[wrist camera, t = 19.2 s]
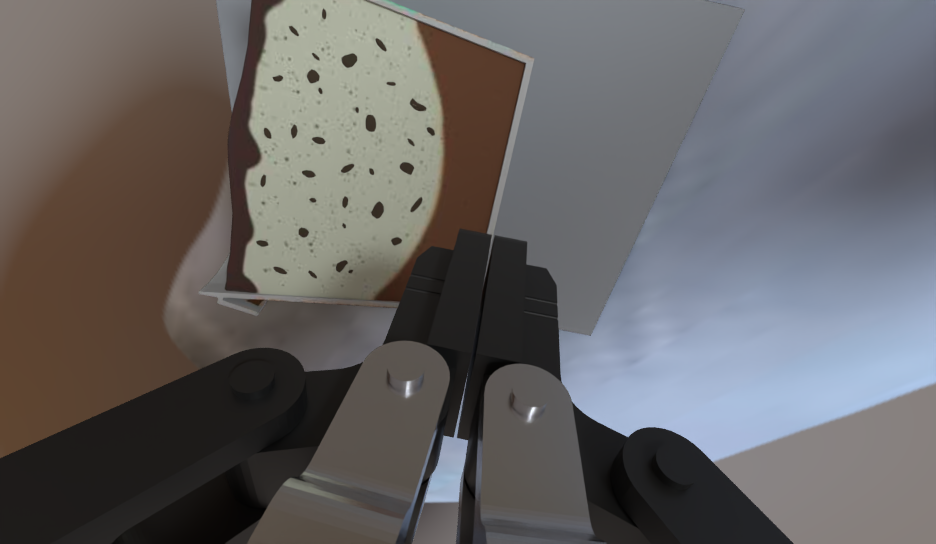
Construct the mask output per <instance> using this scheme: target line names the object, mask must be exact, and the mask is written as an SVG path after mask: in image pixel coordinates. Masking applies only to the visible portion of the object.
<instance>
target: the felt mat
mask: <svg viewBox="0 0 936 544" xmlns="http://www.w3.org/2000/svg"><path fill="white" fill-rule="evenodd" d="M388 1H391V2H393V3H396V4H399V5H401V6H404V7H406V8H409V9H411V10H414V11H416V12H419V13H421V14H424V15H426V16H429V17H431V18H434V19H437V20H439V21H442V22H444V23H447V24H449V25H452V26H454V27H457V28H459V29H462V30H464V31H467V32H469V33H472V34H474V35H477V36H480V37H482V38H485V39H487V40H490V41H492V42H495V43H497V44H500V45H502V46H505V47H507V48H510V49H512V50H515V51H517V52H520V53H523V54H525V55H528V56H530V57H533V58H534V62H533V67H532V71H531V75H530V80H529V84H528V88H527V92H526V97H525V101H524V105H523V110H522V114H521V118H520V122H519V127H518V131H517V135H516V140H515V144H514V148H513V152H512V157H511V161H510V165H509V170H508V174H507V178H506V182H505V187H504V191H503V195H502V200H501V204H500V208H499V212H498V217H497V221H496V225H495V229H494V234H493V238H492V242H491V247H490V251H489V256H488V262H487V267H486V272H487V268H488V263H489V258H490V254H491V249H492V245H493V240H494V236H495V235H497V236H502V237H507V238H512V239H518V240H523V241H527V261H526V264H527V265H532V266H537V267H542V268H547V270H548V271H549V273H550V275H551V276H552V278H553V280H554V281H555V283H556V285H557V306H558V319H557V320H558V328H559V329H560V330H565V331H570V332H575V333H580V334H585V335H590V336H591V334H592V332H593V330H594V327H595V325H596V323H597V321H598V319H599V317H600V315H601V313H602V311H603V308H604V306H605V304H606V302H607V300H608V298H609V296H610V294H611V292H612V289H613V287H614V285H615V283H616V281H617V279H618V277H619V275H620V273H621V270H622V268H623V266H624V264H625V262H626V260H627V258H628V256H629V254H630V251H631V249H632V247H633V245H634V243H635V241H636V239H637V237H638V235H639V232H640V230H641V228H642V226H643V224H644V222H645V220H646V218H647V216H648V213H649V211H650V209H651V207H652V205H653V203H654V201H655V199H656V197H657V194H658V192H659V190H660V188H661V186H662V184H663V182H664V180H665V178H666V175H667V173H668V171H669V169H670V167H671V165H672V163H673V161H674V159H675V156H676V154H677V152H678V150H679V148H680V146H681V144H682V142H683V140H684V137H685V135H686V133H687V131H688V129H689V127H690V125H691V123H692V121H693V118H694V116H695V114H696V112H697V110H698V108H699V106H700V104H701V101H702V99H703V97H704V95H705V93H706V91H707V89H708V87H709V85H710V82H711V80H712V78H713V76H714V74H715V72H716V70H717V68H718V66H719V63H720V61H721V59H722V57H723V55H724V53H725V51H726V49H727V47H728V44H729V42H730V40H731V38H732V36H733V34H734V32H735V30H736V28H737V25H738V23H739V21H740V19H741V17H742V15H743V13H744V11H745V10H744V9H741V8H738V7H733V6H729V5H724V4H719V3H715V2H710V1H705V0H388ZM216 4H217V11H218V18H219V26H220V32H221V40H222V46H223V53H224V60H225V68H226V75H227V82H228V89H229V96H230V103H231V110H232V111H233V107H234V103H235V99H236V96H237V92H238V88H239V84H240V80H241V77H242V72H243V66H244V61H245V56H246V51H247V45H248V33H249V22H250V11H251V0H216ZM485 277H486V273H485ZM484 282H485V279H484ZM483 286H484V285H483Z"/></svg>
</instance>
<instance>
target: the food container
mask: <svg viewBox="0 0 936 544" xmlns="http://www.w3.org/2000/svg"><path fill="white" fill-rule="evenodd" d="M533 62H534V58H533V57H530V56H528V55H525V54H523V53H520V52H517V51H515V50H512V49H510V48H507V47H505V46H502V45H500V44H497V43H495V42H492V41H490V40H487V39H485V38H482V37H480V36H477V35H474V34H472V33H469V32H467V31H464V30H462V29H459V28H457V27H454V26H452V25H449V24H447V23H444V22H442V21H439V20H437V19H434V18H431V17H429V16H426V15H424V14H421V13H419V12H416V11H414V10H411V9H409V8H406V7H404V6H401V5H399V4H396V3H393V2H391V1H388V0H251V11H250V22H249V33H248V45H247V51H246V56H245V61H244V66H243V72H242V77H241V80H240V84H239V88H238V92H237V96H236V99H235V103H234V107H233V111H232V116H231V121H230V127H229V133H228V165H229V177H230V189H231V200H232V212H233V215H232V231H231V247H230V253H229V255H228V257H227V259H226V260H225V262H224V264H223V265H222V267H221V268H220V270H219V271H218V273H217V274H216V275H215V276H214V277H213V278H212V280H211V281H210V282H209V283H208V284H207V285H206V286H205V287H204V288H202V289H201V290H200V291H199V294H203V295H208V296H213V297H218V302H217V303H218V304H221V305H224V306H227V307H230V308H233V309H236V310H239V311H242V312H245V313H249V314H252V315H255V316H258V314H259V313H260V311H261V310H262V309H263V307H264V306H265V304H266V302H267V301H268V300H274V301H290V302H307V303H323V304H340V305H356V306H373V307H390V308H398V305H399V303H400V300H401V298H402V295H403V293H404V290H405V289H406V285H407V282H408V280H409V277H410V276H411V272H412V269H413V267H414V264H415V262H416V259H417V257H418V256H420V255H421V254H422V253H423V252H425V251H426V250H427V249H428V248H430V247H431V246H435V247H440V248H445V249H450V250H454V247H455V243H456V240H457V236H458V232H459V229H460V228H461V229H466V230H471V231H476V232H481V233H486V234H491V235H492V238H493V234H494V229H495V225H496V221H497V217H498V212H499V208H500V204H501V200H502V195H503V191H504V187H505V182H506V178H507V174H508V170H509V165H510V161H511V157H512V152H513V148H514V144H515V140H516V135H517V131H518V127H519V122H520V118H521V114H522V110H523V105H524V101H525V97H526V92H527V88H528V84H529V80H530V75H531V71H532V67H533ZM492 238H491V242H492ZM490 247H491V244H490ZM489 251H490V250H489Z"/></svg>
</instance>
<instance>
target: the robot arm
mask: <svg viewBox="0 0 936 544" xmlns="http://www.w3.org/2000/svg"><path fill="white" fill-rule="evenodd" d="M491 238H492V235H491V234H486V233H481V232H476V231H471V230H466V229H461V228H460V229H459V232H458V236H457V240H456V243H455V247H454V250H450V249H445V248H440V247H435V246H431V247H430V248H428V249H427V250H426V251H425V252H423V253H422V254H421V255H420V256H418V257H417V259H416V262H415V264H414V267H413V269H412V272H411V276H410V277H409V280H408V282H407V285H406V289H405V290H404V293H403V295H402V298H401V300H400V303H399V305H398V308H397V311H396V313H395V316H394V318H393V321H392V323H391V326H390V329H389V331H388V334H387V336H386V339H385V341H384V343H383V345H382V346H380V347H378V348H376V349H375V350H374V351H372V352H371V353H370V354H369V355H368V356H367V357H366V359H365V360H364V362H362V363H360V364H358V365H355V366H352V367H348V368H344V369H336V370H323V371H309V372H304V369H303V366H302V365H301V363H300V362H299V361H298V360H297V359H296V358H295V357H294V356H292V355H291V354H289V353H287V352H285V351H282V350H278V349H273V348H256V349H249V350H245V351H242V352H239V353H236V354H234V355H231V356H229V357H227V358H225V359H222V360H220V361H218V362H216V363H213V364H211V365H209V366H207V367H204V368H202V369H200V370H198V371H196V372H193V373H191V374H189V375H187V376H184V377H182V378H180V379H178V380H175V381H173V382H171V383H168V384H166V385H164V386H162V387H160V388H157V389H155V390H153V391H150V392H148V393H146V394H144V395H142V396H139V397H137V398H135V399H133V400H130V401H128V402H126V403H124V404H121V405H119V406H117V407H115V408H112V409H110V410H108V411H106V412H103V413H101V414H99V415H97V416H94V417H92V418H90V419H88V420H85V421H83V422H81V423H79V424H76V425H74V426H72V427H70V428H67V429H65V430H63V431H61V432H58V433H56V434H54V435H52V436H49V437H47V438H45V439H43V440H40V441H38V442H36V443H34V444H31V445H29V446H27V447H25V448H23V449H20V450H18V451H16V452H14V453H11V454H9V455H7V456H5V457H3V458H0V544H412V542H413V539H414V536H415V532H416V529H417V525H418V522H419V518H420V514H421V512H422V508H423V505H424V501H425V498H426V494H427V491H428V487H429V484H430V480H431V476H432V473H433V472H434V470H435V468H436V466H437V463H438V460H439V455H440V450H441V445H442V440H443V435H444V436H449V437H454V432H455V428H456V423H457V419H458V414H459V410H460V405H461V401H462V396H463V392H464V387H465V383H466V388H465V394H464V399H463V405H462V411H461V417H460V423H459V429H458V435H457V438H460V439H465V440H468V446H467V453H466V460H465V465H464V469H463V472H462V476H461V482H460V493H459V507H458V522H457V536H456V544H793V543H792V542H791V541H790V539H789V538H787V537H786V535H785V534H784V533H783V532H781V530H780V529H778V528H777V526H776V525H775V524H773V522H772V521H771V520H769V518H768V517H767V516H766V515H765V514H764V513H763V512H762V511H761V510H760V509H759V508H758V507H757V506H756V505H755V504H754V503H753V502H752V501H751V500H750V499H749V498H748V497H747V496H746V495H745V494H744V493H743V492H742V491H741V490H740V489H739V488H738V487H737V486H736V485H735V484H734V483H733V482H732V481H731V480H730V479H729V478H728V477H727V476H726V475H725V474H724V473H723V472H722V471H721V470H720V469H719V468H718V467H717V466H716V465H715V464H714V463H713V462H712V461H711V460H710V459H709V458H708V457H707V456H706V455H705V454H704V453H703V452H702V451H701V450H700V449H699V448H698V447H697V446H695V445H694V444H693V443H691V442H690V441H689V440H687V439H686V438H684V437H682V436H681V435H679V434H677V433H674V432H672V431H669V430H666V429H662V428H655V427H648V428H643V429H640V430H637V431H635V432H634V433H632V434H631V435H630V436H629V437H626V436H624V435H622V434H620V433H618V432H616V431H614V430H612V429H610V428H608V427H606V426H604V425H602V424H600V423H598V422H596V421H595V420H593V419H591V418H590V417H588V416H587V415H585V414H584V413H583V412H582V411H580V410H579V409H578V408H577V407H576V406H575V405H574V404H573V402H572V401H571V397H570V395H569V393H568V391H567V389H566V388H565V386H564V385H563V384H562V382H561V375H560V352H559V328H558V320H557V319H558V306H557V285H556V283H555V281H554V280H553V278H552V276H551V275H550V273H549V271H548V270H547V268H542V267H537V266H532V265H527V264H526V261H527V241H523V240H518V239H512V238H507V237H502V236H497V235H495V236H494V240H493V245H492V249H491V254H490V258H489V263H488V268H487V272H486V267H487V262H488V256H489V250H490V244H491ZM485 273H486V277H485ZM484 279H485V282H484ZM483 285H484V286H483ZM468 369H469V370H468ZM467 374H468V376H467ZM466 378H467V382H466Z"/></svg>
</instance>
